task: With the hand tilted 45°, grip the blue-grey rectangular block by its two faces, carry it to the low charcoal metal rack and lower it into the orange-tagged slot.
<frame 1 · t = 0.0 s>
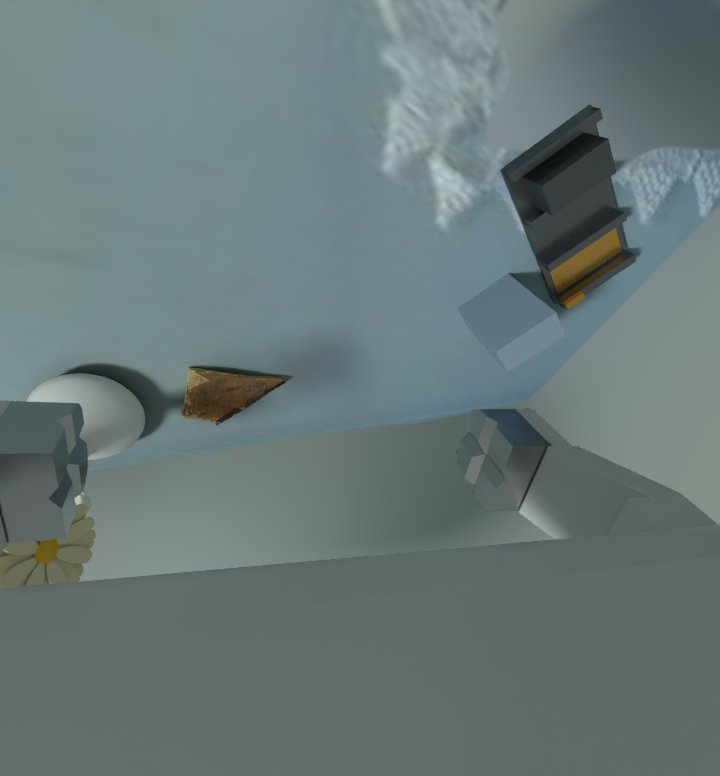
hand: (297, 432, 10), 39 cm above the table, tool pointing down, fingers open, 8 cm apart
blue-grey rectangular block: (487, 301, 57), on the table
rack: (569, 215, 52), on the table
flower in vase: (90, 400, 52), on the table
shard: (223, 379, 55), on the table
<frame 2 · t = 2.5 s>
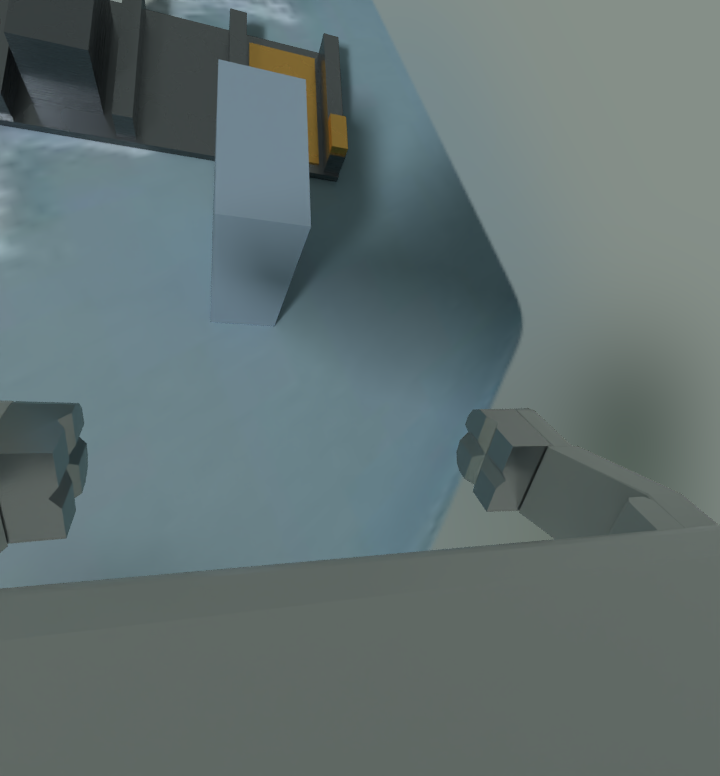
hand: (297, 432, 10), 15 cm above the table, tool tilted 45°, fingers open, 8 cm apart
blue-grey rectangular block: (243, 268, 27), on the table
rack: (185, 88, 29), on the table
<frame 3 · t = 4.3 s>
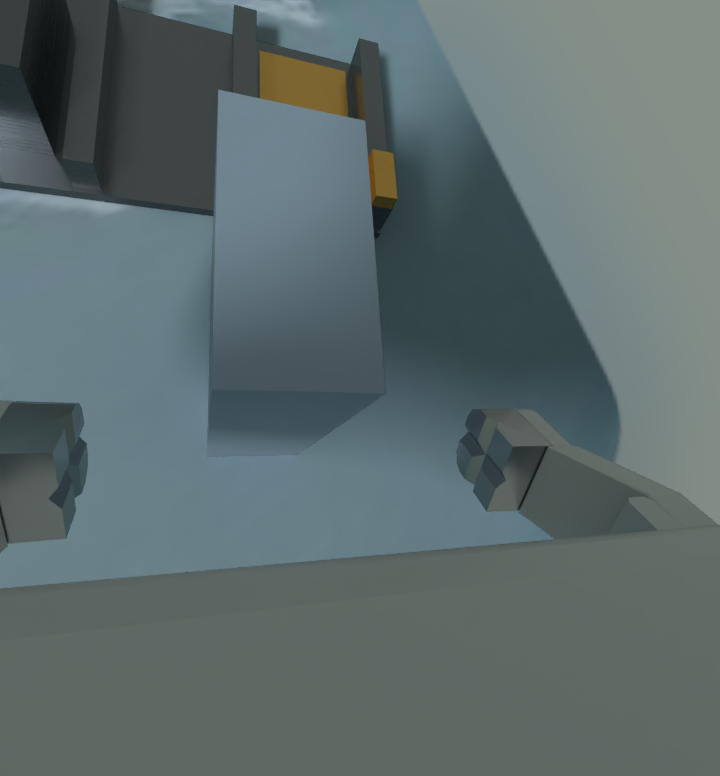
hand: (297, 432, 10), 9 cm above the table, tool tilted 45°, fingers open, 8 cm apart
blue-grey rectangular block: (253, 370, 19), on the table
rack: (173, 114, 21), on the table
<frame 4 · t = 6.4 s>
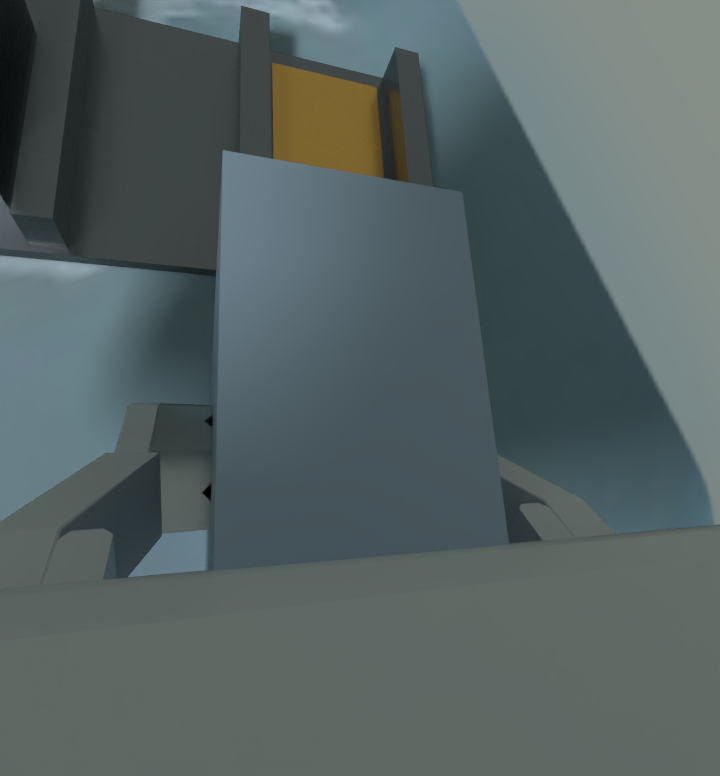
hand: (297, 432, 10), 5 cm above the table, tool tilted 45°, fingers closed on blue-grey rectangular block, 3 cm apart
blue-grey rectangular block: (266, 482, 15), on the table, touching gripper
rack: (164, 144, 17), on the table
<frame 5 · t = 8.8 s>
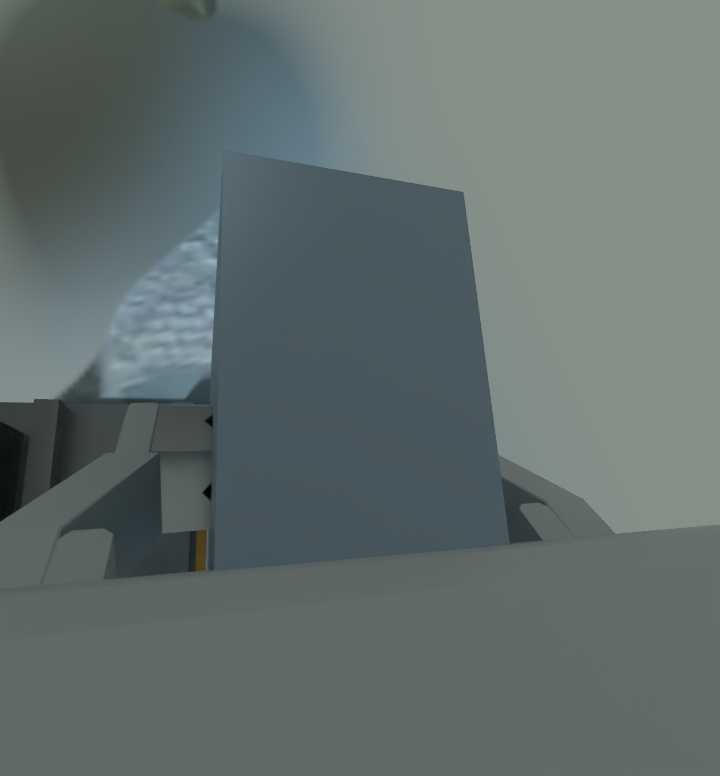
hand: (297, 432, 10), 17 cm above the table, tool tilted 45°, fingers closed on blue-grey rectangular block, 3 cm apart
blue-grey rectangular block: (266, 482, 15), point 11 cm above the table, touching gripper
rack: (117, 503, 24), on the table
when the fingers open (6 cm above the table, at t = 11.5 s): blue-grey rectangular block stays where it is, resting on rack.
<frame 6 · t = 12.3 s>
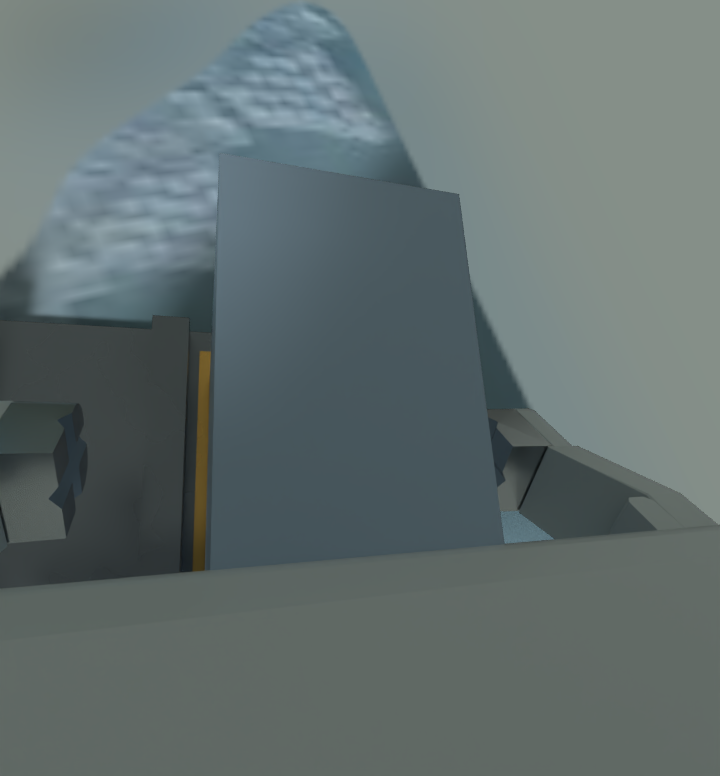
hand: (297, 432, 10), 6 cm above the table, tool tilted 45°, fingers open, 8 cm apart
blue-grey rectangular block: (265, 482, 15), resting on rack
rack: (55, 491, 14), on the table
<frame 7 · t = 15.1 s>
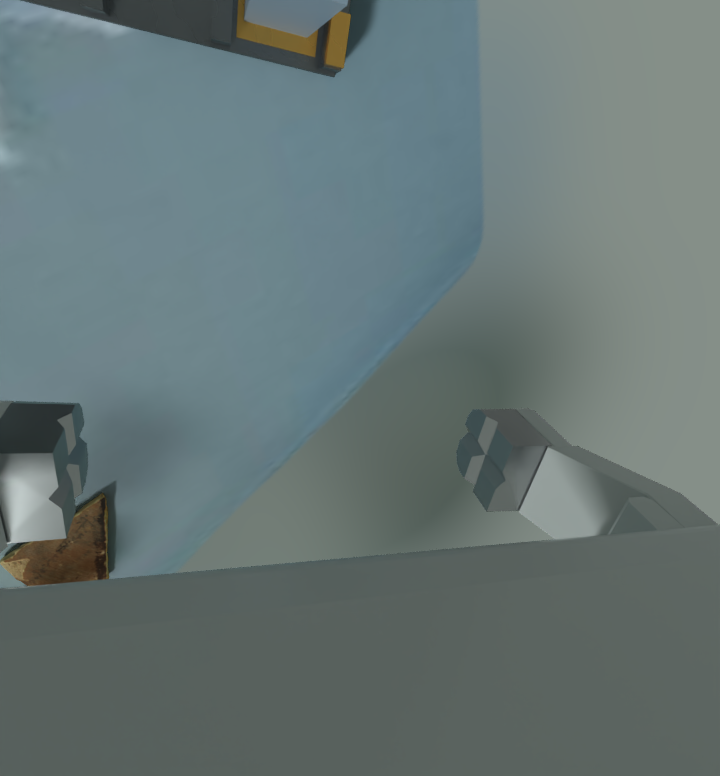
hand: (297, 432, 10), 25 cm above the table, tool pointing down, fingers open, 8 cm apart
shard: (60, 537, 41), on the table
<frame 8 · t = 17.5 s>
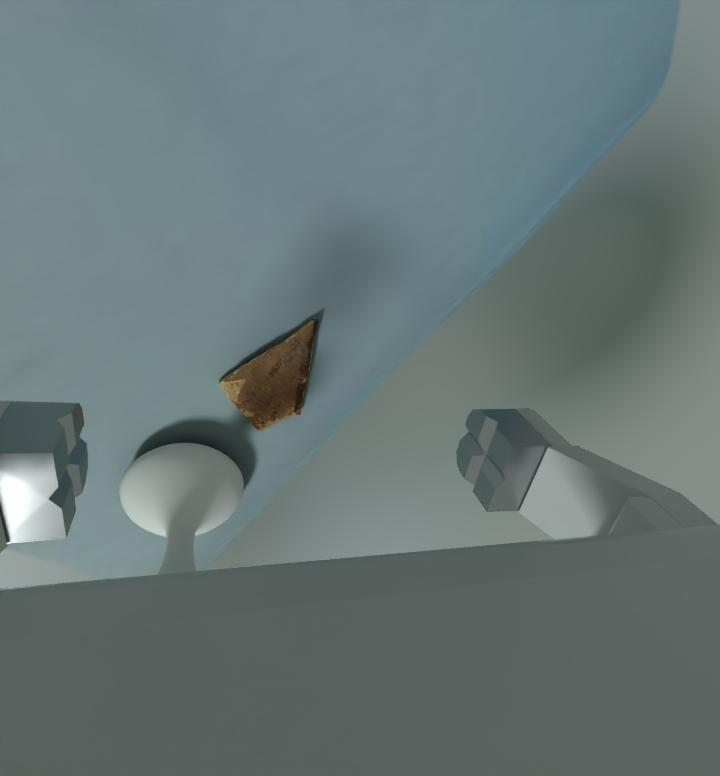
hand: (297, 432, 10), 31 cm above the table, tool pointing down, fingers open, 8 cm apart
flower in vase: (178, 473, 47), on the table
shard: (264, 367, 44), on the table
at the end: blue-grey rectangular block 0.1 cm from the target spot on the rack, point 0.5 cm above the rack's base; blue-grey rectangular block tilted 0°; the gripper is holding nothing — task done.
